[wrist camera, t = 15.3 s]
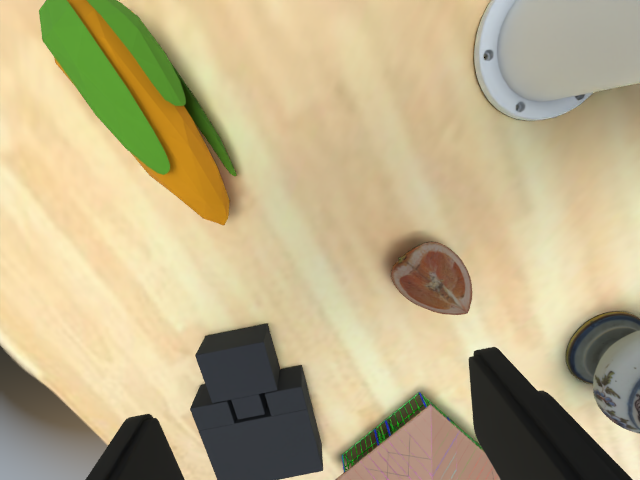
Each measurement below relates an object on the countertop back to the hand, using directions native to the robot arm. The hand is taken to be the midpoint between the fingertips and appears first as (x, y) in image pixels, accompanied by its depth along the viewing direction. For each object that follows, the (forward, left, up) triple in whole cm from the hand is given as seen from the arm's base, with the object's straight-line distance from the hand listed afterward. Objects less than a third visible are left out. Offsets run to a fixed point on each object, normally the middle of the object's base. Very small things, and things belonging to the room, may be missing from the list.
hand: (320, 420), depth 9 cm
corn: (+10, -12, -24) cm, 29 cm away
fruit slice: (-11, +7, -24) cm, 27 cm away
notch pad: (+10, +22, -24) cm, 34 cm away
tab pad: (+10, +14, -24) cm, 29 cm away
